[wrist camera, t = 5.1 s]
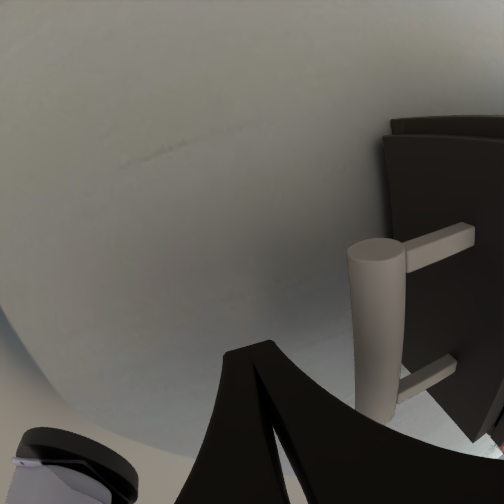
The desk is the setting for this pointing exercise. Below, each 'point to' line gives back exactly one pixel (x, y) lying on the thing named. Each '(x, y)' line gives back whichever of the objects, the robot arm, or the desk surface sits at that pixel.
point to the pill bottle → (501, 448)
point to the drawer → (434, 283)
